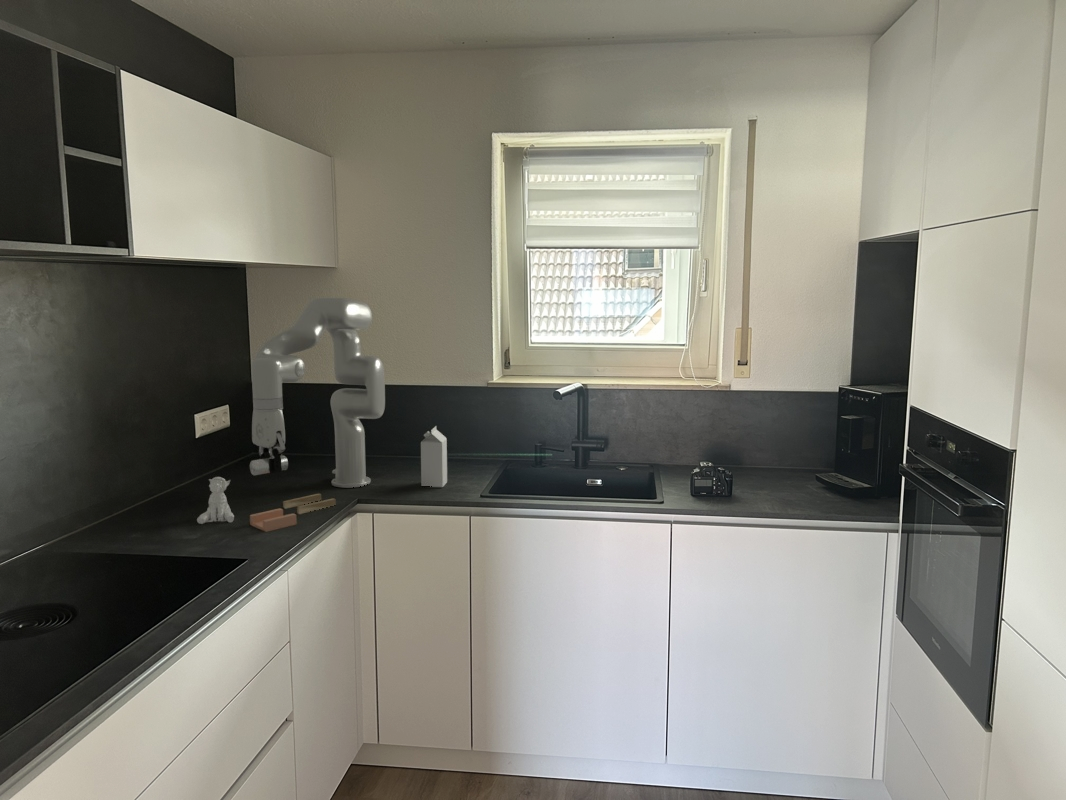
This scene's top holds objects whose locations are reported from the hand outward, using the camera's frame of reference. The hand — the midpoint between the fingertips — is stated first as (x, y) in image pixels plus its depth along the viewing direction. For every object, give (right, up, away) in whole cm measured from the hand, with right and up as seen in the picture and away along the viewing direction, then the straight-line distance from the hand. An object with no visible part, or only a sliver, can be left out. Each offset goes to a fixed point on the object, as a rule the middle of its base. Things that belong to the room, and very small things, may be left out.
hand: (271, 470), depth 208 cm
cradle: (0, -15, +2) cm, 15 cm away
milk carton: (+39, -9, +45) cm, 60 cm away
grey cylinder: (0, +1, -1) cm, 1 cm away
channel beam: (+5, -13, +19) cm, 23 cm away
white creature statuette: (-17, -15, +7) cm, 24 cm away
